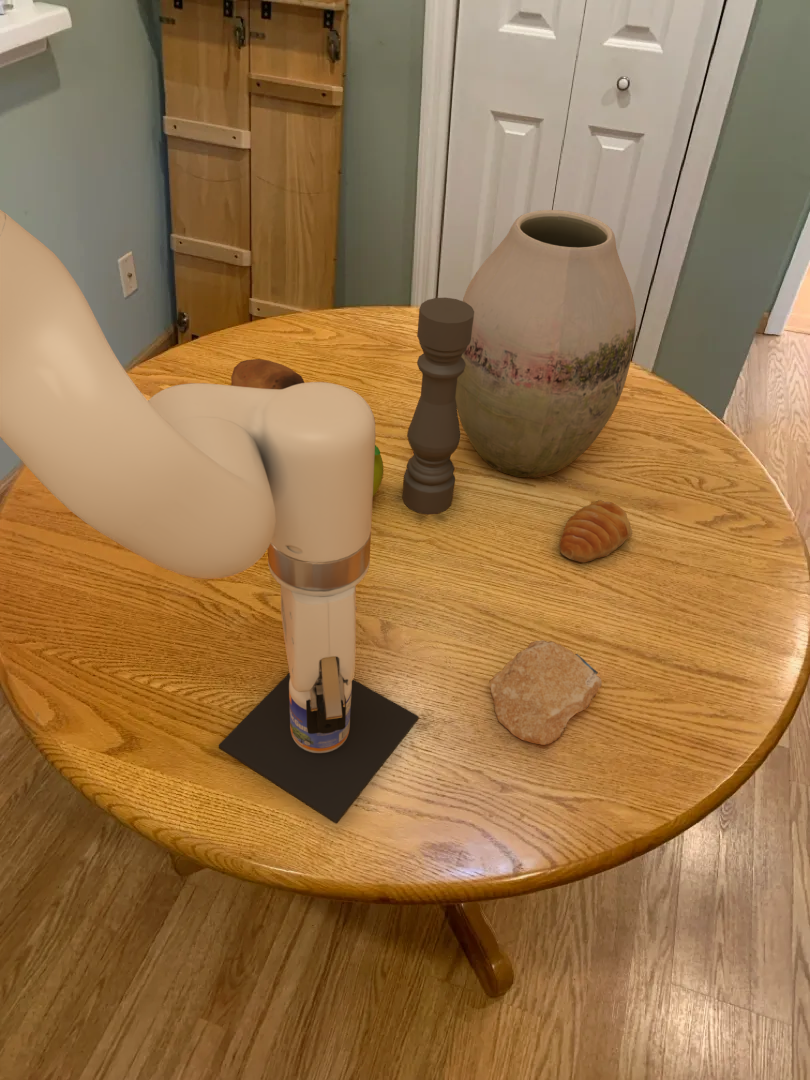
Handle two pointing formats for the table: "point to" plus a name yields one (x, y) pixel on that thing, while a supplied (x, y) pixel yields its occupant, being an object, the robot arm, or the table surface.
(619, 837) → the table surface
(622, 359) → the vase
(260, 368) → the potato
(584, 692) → the stone
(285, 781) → the mat
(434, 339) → the candle holder
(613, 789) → the table surface
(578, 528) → the pastry
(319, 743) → the pill bottle
